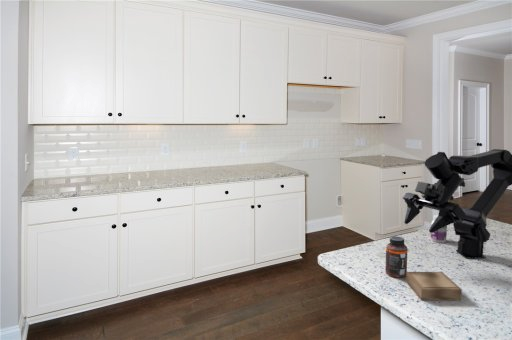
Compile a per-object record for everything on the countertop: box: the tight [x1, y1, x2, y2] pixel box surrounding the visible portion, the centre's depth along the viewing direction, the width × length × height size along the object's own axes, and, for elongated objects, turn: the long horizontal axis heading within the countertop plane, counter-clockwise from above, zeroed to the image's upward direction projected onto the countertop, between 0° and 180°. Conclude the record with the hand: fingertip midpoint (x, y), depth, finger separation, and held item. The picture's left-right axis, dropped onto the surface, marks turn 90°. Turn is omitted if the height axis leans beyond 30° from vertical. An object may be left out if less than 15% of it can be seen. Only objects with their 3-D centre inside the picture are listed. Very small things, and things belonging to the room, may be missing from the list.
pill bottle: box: [430, 214, 448, 244], centre depth 126 cm, size 5×5×10 cm
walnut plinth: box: [405, 271, 463, 301], centre depth 90 cm, size 10×10×3 cm
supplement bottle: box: [385, 235, 409, 279], centre depth 100 cm, size 6×6×11 cm
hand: (417, 227), depth 102 cm, fingers open, 9 cm apart
